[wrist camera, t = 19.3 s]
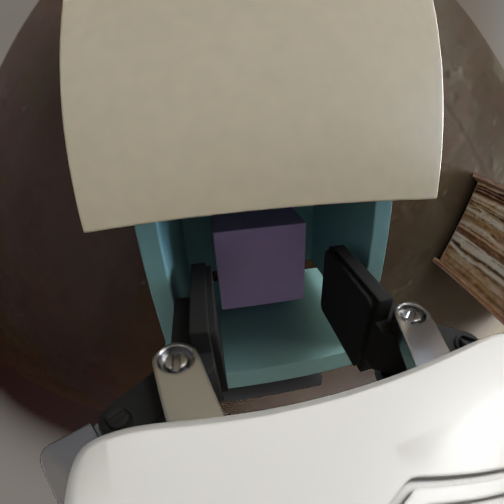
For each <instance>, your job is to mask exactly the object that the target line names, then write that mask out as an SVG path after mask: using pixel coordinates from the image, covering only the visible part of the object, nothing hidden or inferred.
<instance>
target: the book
mask: <svg viewBox="0 0 504 504" xmlns="http://www.w3.org/2000/svg"><path fill="white" fill-rule="evenodd" d="M472 177H473V178H474V179H475V180H476V181H477V185H476V187H475V189H474V192H473V194H472V196H471V199H470V201H469V203H468V205H467V207H466V210H465V212H464V214H463V216H462V218H461V220H460V222H459V224H458V226H457V228H456V230H455V232H454V234H453V236H452V238H451V239H450V241H449V243H448V245H447V247H446V249H445V251H444V252H443V254H442V256H441V258H440V259H438V258H436V257H434V259H433V260H432V261H433V262H434V263H435V264H436V265H438V266H439V267H440V268H441V269H442V270H444V271H445V272H446V273H447V274H448V275H450V276H451V277H452V278H453V279H454V280H455V281H457V282H458V283H459V284H460V285H461V286H462V287H463V288H465V289H466V290H467V291H468V292H469V293H470V294H471V295H472V296H473V297H475V298H476V299H477V300H478V301H479V302H480V303H481V304H482V305H483V306H484V307H485V308H486V309H488V310H489V311H490V312H491V313H492V314H493V315H494V316H495V317H496V318H497V319H498V320H499V321H500V322H501V323H502V324H503V325H504V185H503V184H501V183H499V182H496V181H494V180H492V179H489V178H487V177H484V176H482V175H479V174H477V173H473V175H472Z"/></svg>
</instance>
